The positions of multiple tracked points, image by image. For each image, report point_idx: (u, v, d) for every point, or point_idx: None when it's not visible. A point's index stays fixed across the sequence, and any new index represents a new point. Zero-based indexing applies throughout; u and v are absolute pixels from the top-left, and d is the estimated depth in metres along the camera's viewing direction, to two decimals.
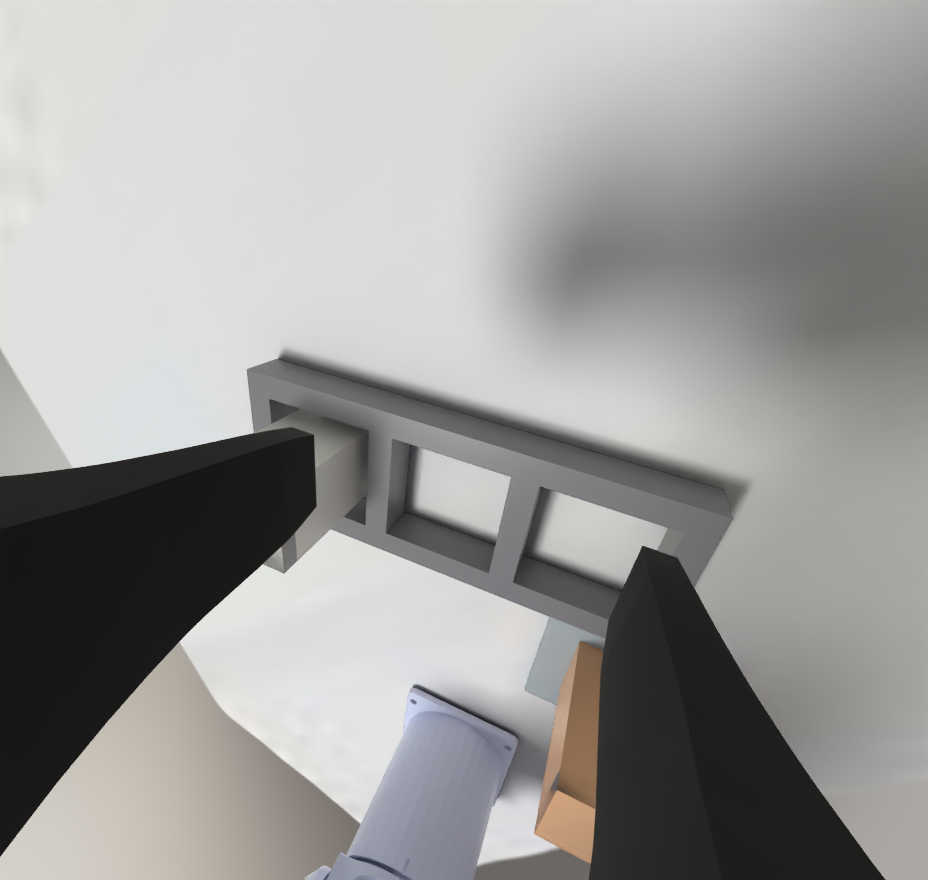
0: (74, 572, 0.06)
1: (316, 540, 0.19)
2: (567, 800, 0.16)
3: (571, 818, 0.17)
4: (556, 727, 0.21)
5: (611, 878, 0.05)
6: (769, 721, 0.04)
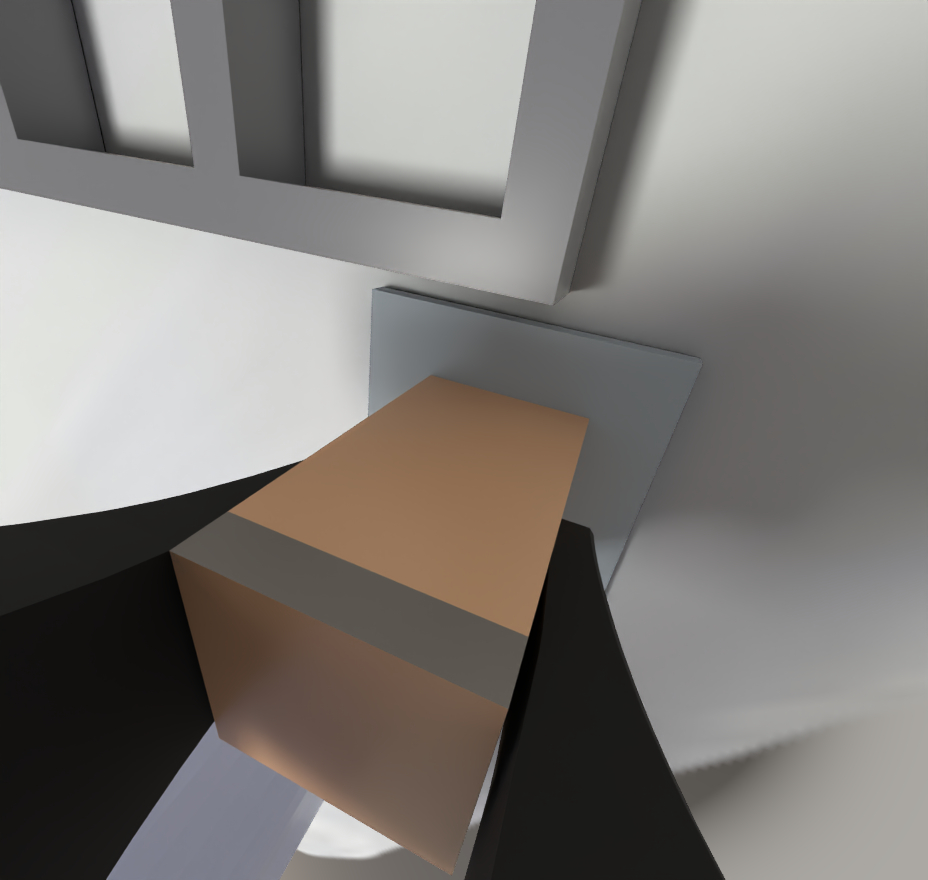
0: (161, 618, 0.05)
1: None
2: (208, 591, 0.05)
3: (249, 663, 0.05)
4: None
5: (487, 811, 0.05)
6: (619, 660, 0.05)
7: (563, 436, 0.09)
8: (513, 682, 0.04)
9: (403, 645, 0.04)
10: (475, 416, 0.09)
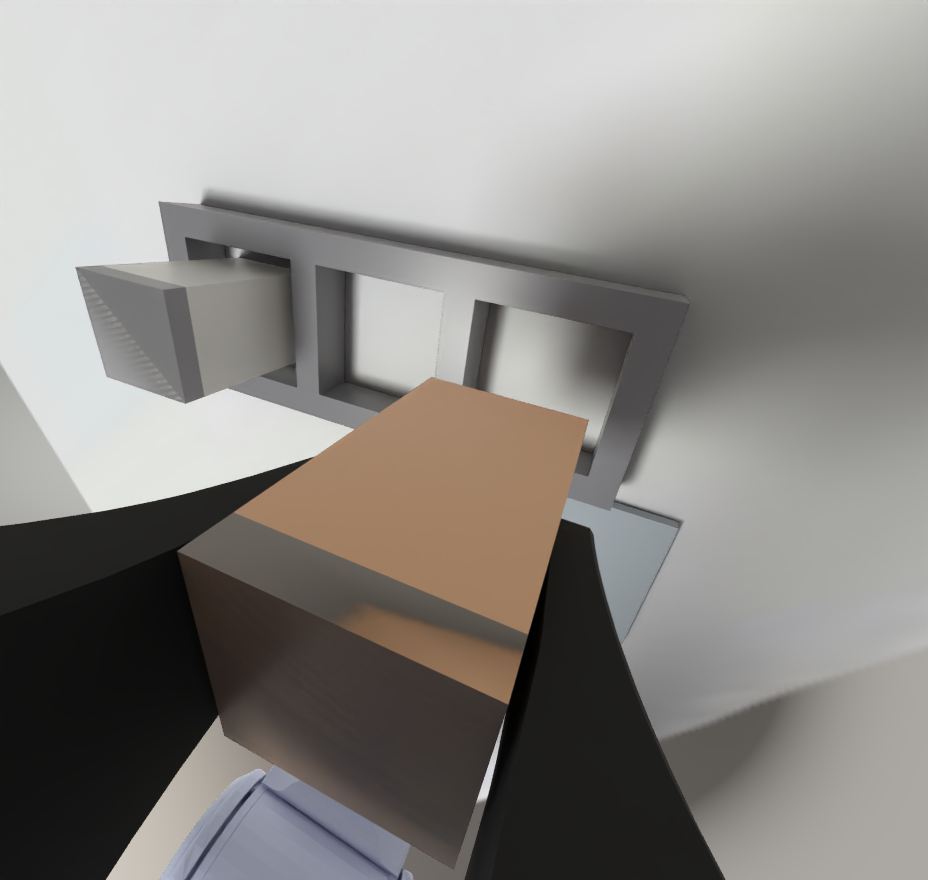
0: (161, 618, 0.05)
1: (231, 383, 0.17)
2: (215, 591, 0.05)
3: (255, 660, 0.05)
4: None
5: (487, 811, 0.05)
6: (619, 660, 0.05)
7: (563, 437, 0.09)
8: (513, 678, 0.04)
9: (406, 642, 0.04)
10: (475, 418, 0.09)
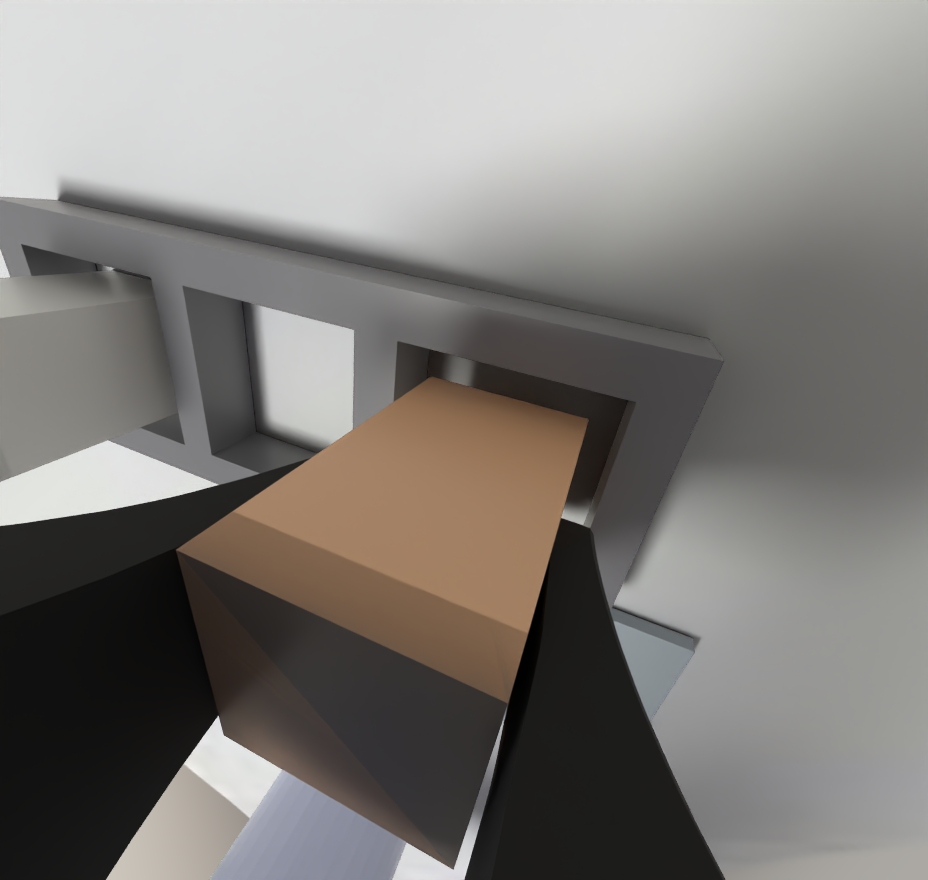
0: (161, 618, 0.05)
1: (68, 451, 0.12)
2: (213, 590, 0.05)
3: (254, 660, 0.05)
4: None
5: (487, 811, 0.05)
6: (619, 660, 0.05)
7: (563, 436, 0.09)
8: (513, 677, 0.04)
9: (405, 641, 0.04)
10: (475, 416, 0.09)
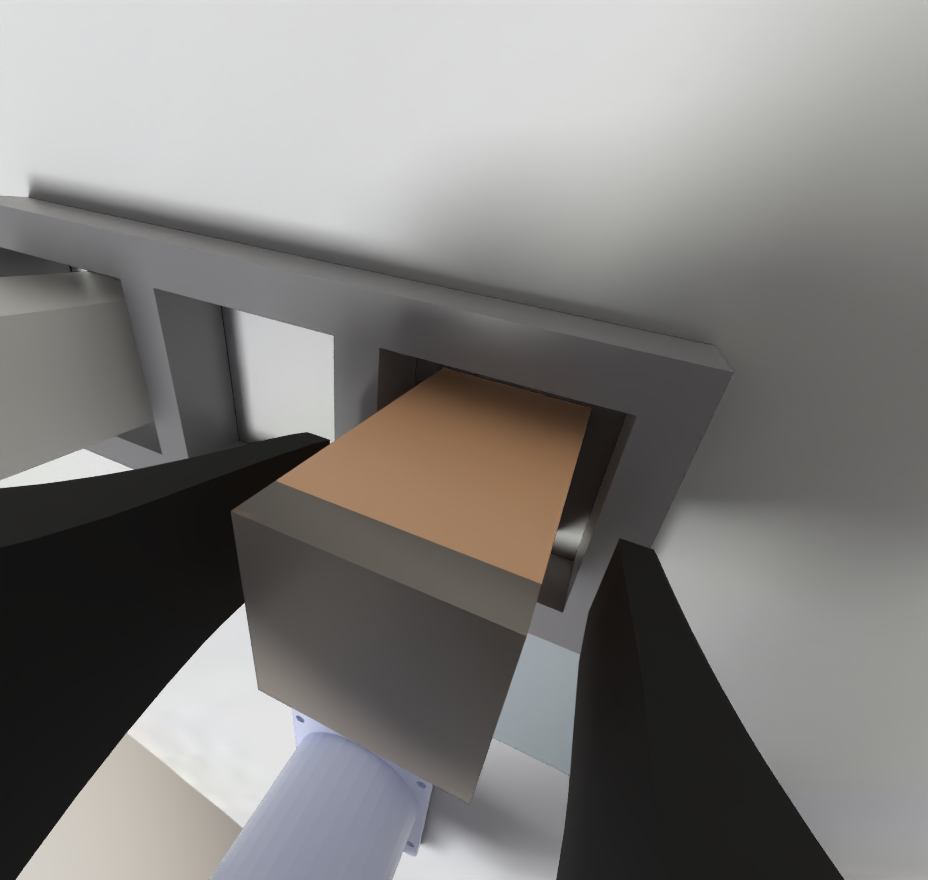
0: (96, 584, 0.05)
1: (32, 463, 0.11)
2: (264, 547, 0.06)
3: (295, 612, 0.06)
4: None
5: (577, 859, 0.05)
6: (727, 704, 0.04)
7: (567, 422, 0.09)
8: (530, 617, 0.05)
9: (436, 587, 0.05)
10: (486, 404, 0.10)
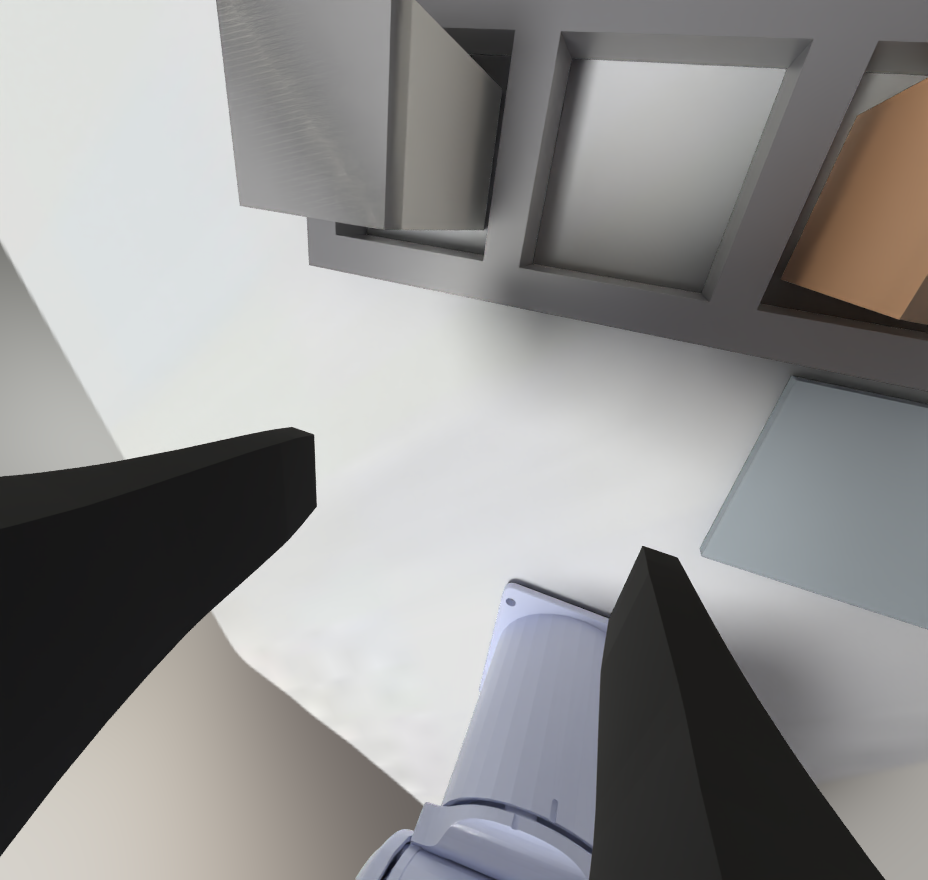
0: (74, 572, 0.06)
1: (425, 225, 0.11)
2: None
3: None
4: (842, 237, 0.10)
5: (611, 878, 0.05)
6: (769, 721, 0.04)
7: None
8: None
9: None
10: None
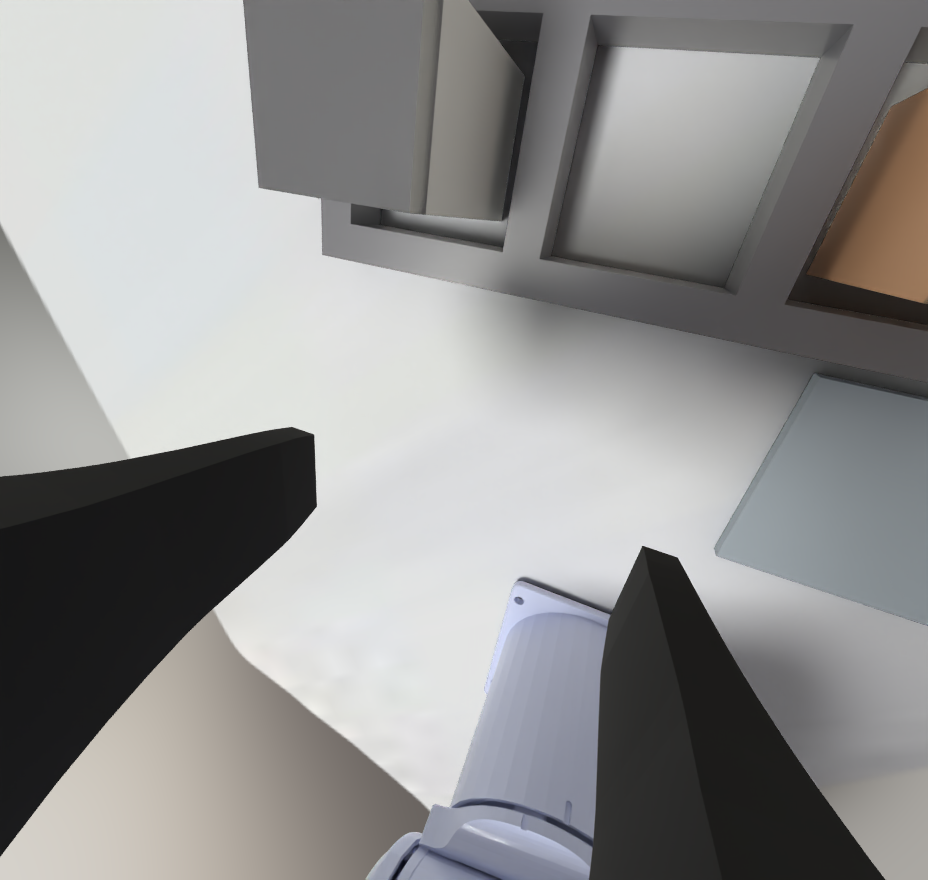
0: (74, 572, 0.06)
1: (447, 211, 0.11)
2: None
3: None
4: (878, 229, 0.09)
5: (611, 878, 0.05)
6: (769, 721, 0.04)
7: None
8: None
9: None
10: None
